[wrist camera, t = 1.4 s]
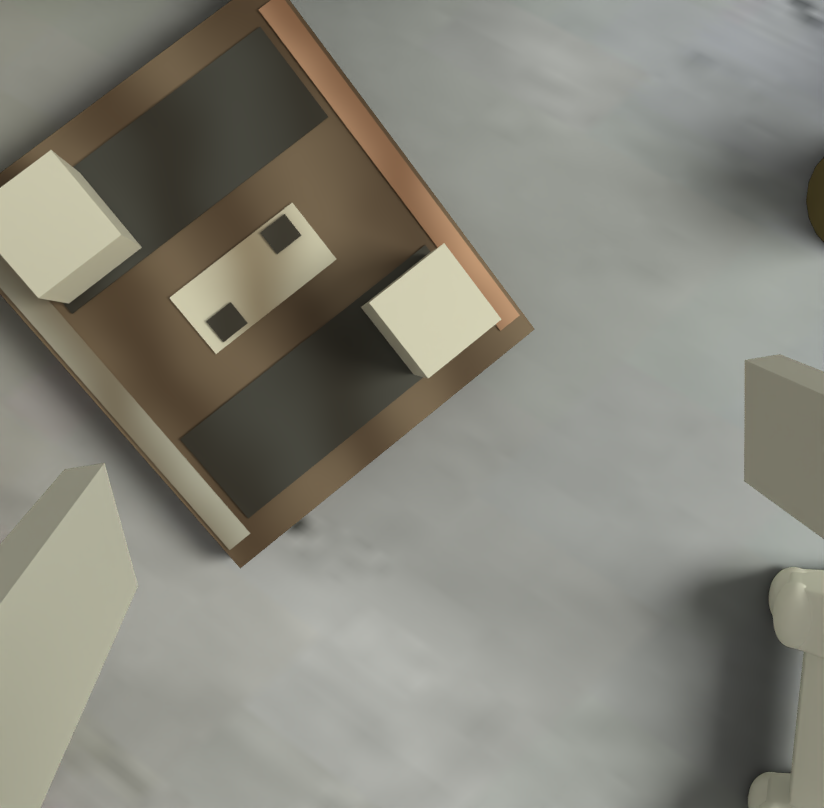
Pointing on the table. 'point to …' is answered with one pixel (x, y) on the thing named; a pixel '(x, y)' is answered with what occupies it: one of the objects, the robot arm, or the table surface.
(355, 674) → the table surface
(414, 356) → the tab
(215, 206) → the brown wooden tray
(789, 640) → the bone shaped toy
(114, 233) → the cream cube
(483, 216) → the table surface
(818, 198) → the cork
